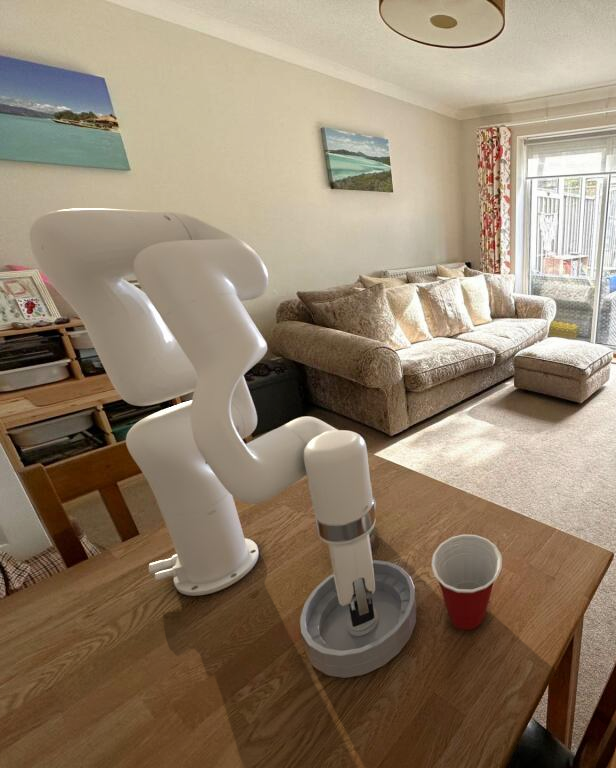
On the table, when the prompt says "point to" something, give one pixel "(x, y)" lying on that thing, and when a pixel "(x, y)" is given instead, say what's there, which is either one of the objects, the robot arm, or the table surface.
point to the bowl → (367, 652)
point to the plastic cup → (466, 577)
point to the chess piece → (362, 625)
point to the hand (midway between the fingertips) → (361, 611)
